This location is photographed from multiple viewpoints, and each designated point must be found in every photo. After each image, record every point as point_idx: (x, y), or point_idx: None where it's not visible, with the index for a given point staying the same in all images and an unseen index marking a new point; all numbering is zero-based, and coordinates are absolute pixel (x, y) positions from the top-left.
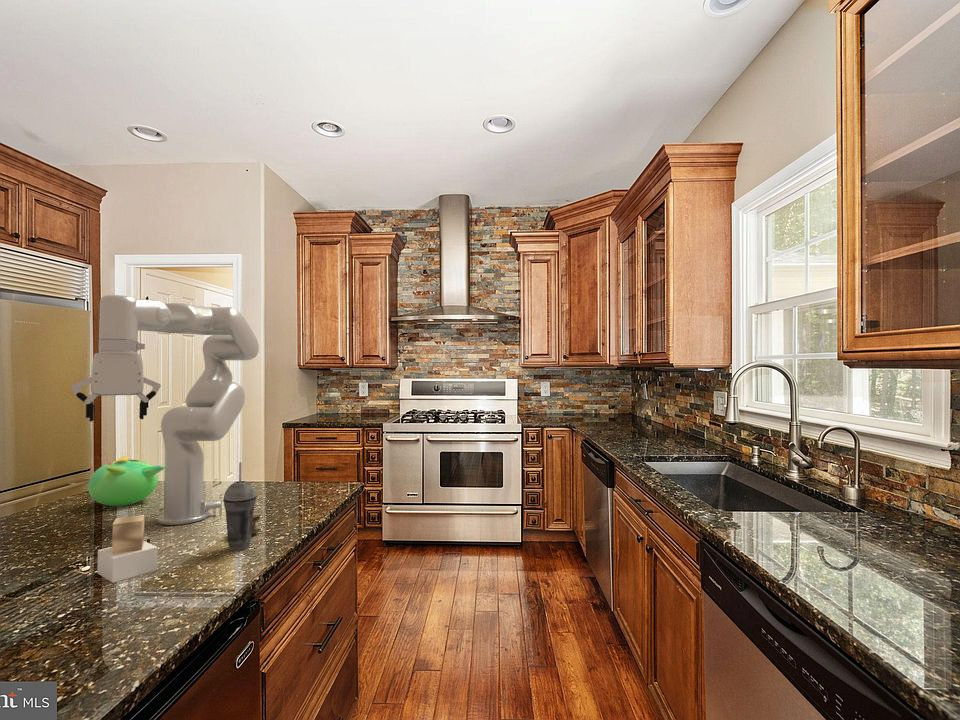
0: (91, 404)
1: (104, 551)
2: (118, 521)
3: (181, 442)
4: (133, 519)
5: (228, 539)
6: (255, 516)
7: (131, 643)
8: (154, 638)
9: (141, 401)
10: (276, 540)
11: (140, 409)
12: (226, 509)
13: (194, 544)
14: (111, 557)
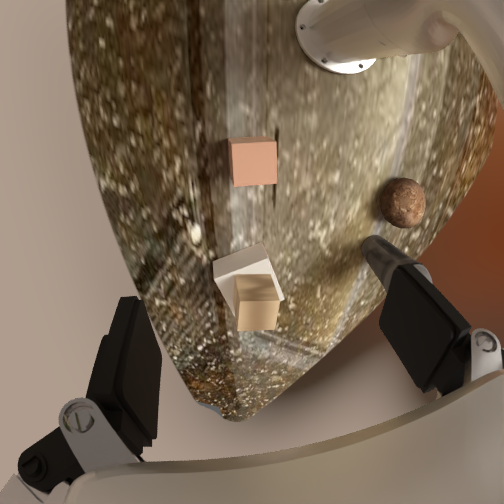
0: (145, 444)
1: (222, 288)
2: (244, 320)
3: (445, 25)
4: (264, 318)
5: (366, 257)
6: (417, 223)
7: (251, 391)
8: (264, 390)
9: (436, 386)
10: (408, 242)
11: (403, 362)
12: (384, 284)
13: (333, 202)
14: (233, 313)
